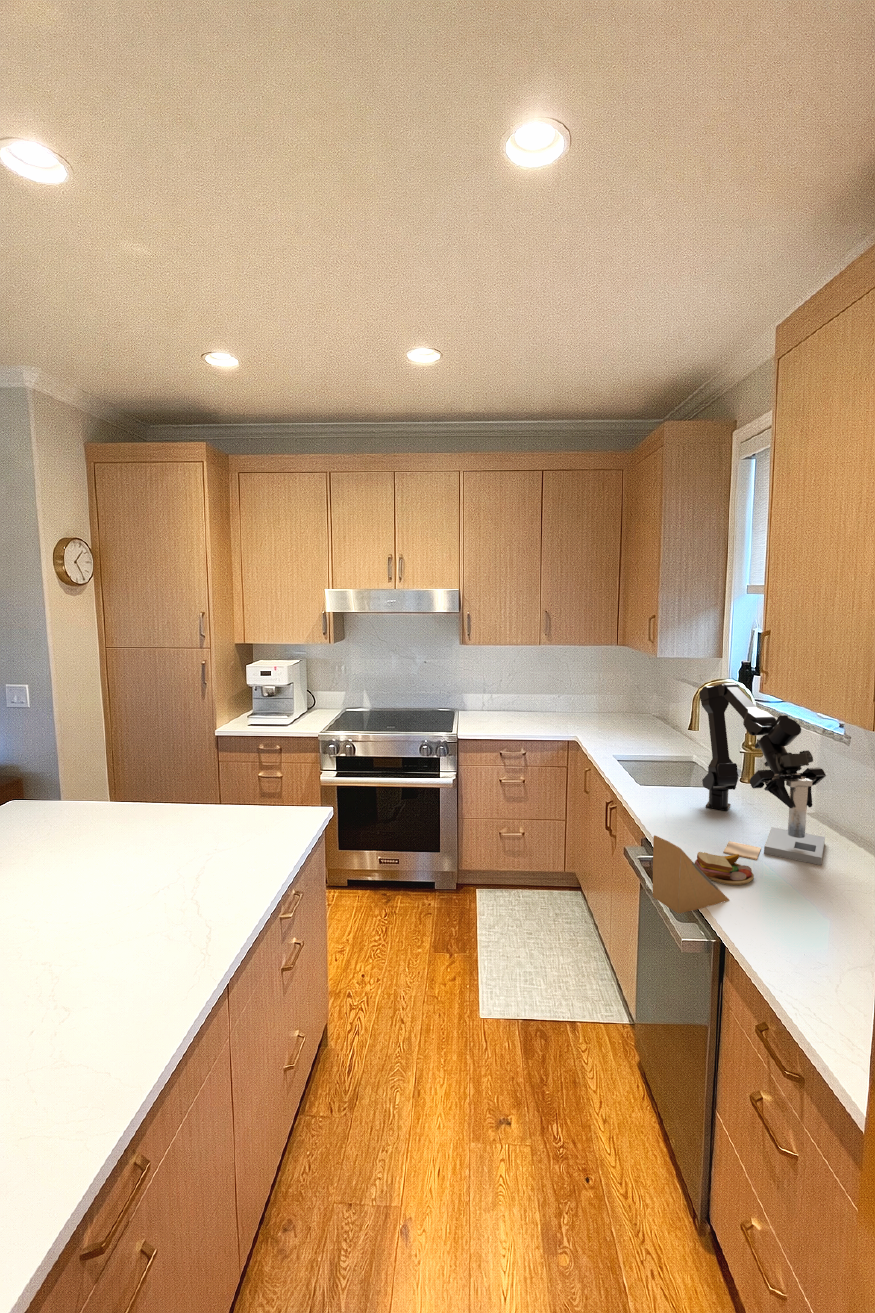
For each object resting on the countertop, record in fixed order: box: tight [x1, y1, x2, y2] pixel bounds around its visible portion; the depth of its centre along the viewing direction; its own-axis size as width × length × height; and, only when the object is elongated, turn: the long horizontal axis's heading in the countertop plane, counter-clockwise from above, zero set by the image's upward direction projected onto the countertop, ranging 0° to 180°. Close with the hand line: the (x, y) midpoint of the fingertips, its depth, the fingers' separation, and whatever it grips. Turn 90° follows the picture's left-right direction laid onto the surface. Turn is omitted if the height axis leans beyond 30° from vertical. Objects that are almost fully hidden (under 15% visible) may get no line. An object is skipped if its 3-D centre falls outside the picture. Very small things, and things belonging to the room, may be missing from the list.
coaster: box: [723, 840, 762, 861], centre depth 164 cm, size 8×8×1 cm
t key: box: [785, 779, 813, 838], centre depth 161 cm, size 4×6×15 cm, turn 96°
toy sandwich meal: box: [694, 851, 755, 886], centre depth 151 cm, size 12×14×5 cm
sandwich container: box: [652, 835, 730, 914], centre depth 139 cm, size 9×15×15 cm, turn 112°
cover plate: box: [763, 826, 826, 866], centre depth 166 cm, size 16×13×2 cm
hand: (801, 807), depth 159 cm, fingers closed on t key, 5 cm apart
